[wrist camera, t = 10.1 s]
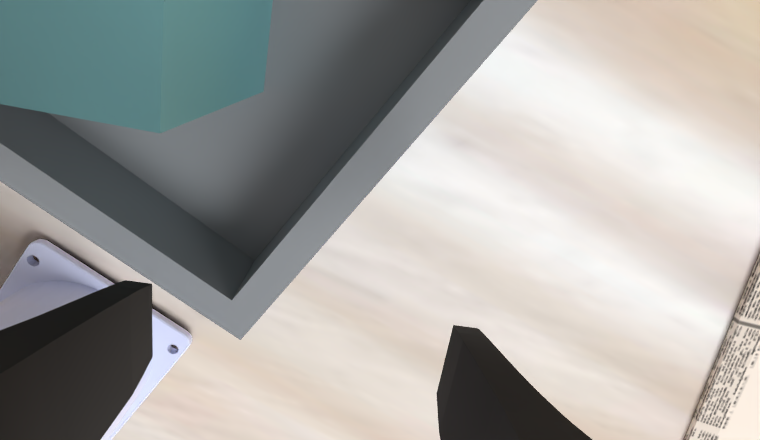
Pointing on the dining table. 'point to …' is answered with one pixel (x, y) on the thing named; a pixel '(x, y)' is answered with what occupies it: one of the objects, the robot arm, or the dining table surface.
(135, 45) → the strut
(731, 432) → the newspaper
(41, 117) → the bin
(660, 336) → the dining table surface
